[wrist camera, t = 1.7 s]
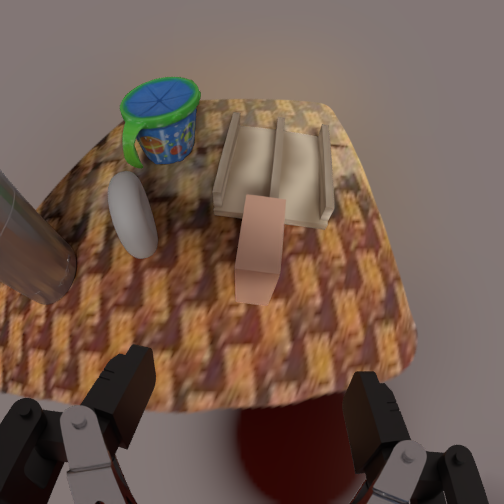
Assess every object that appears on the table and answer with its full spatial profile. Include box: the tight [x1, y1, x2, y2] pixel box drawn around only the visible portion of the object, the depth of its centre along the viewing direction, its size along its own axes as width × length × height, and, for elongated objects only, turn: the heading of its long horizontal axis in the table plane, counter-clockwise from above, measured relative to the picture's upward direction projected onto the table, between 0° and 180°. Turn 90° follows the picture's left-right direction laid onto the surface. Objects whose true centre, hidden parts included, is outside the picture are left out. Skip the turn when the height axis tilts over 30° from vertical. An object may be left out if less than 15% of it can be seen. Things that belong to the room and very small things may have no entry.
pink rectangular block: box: [235, 194, 286, 306], centre depth 28 cm, size 4×7×10 cm, turn 173°
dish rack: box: [212, 112, 334, 230], centre depth 37 cm, size 14×16×4 cm
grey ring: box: [108, 171, 158, 259], centre depth 29 cm, size 10×4×10 cm, turn 21°
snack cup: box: [120, 77, 201, 168], centre depth 36 cm, size 16×10×10 cm
